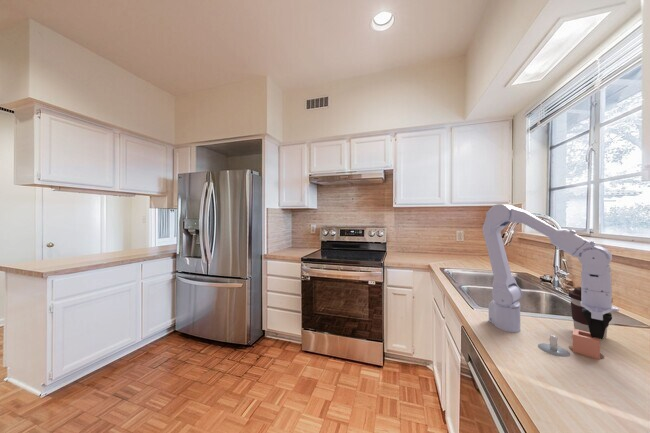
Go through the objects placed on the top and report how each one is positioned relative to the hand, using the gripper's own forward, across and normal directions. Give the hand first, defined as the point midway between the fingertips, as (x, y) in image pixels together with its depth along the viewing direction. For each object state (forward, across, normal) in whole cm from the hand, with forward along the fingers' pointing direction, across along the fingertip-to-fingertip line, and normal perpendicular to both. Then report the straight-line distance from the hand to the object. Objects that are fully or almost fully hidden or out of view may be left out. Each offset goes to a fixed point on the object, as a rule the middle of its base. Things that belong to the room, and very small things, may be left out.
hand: (596, 337), depth 69 cm
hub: (+6, 0, +2) cm, 6 cm away
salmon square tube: (+5, 0, +2) cm, 5 cm away
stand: (+6, -5, +9) cm, 11 cm away
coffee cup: (+6, +17, +1) cm, 18 cm away
